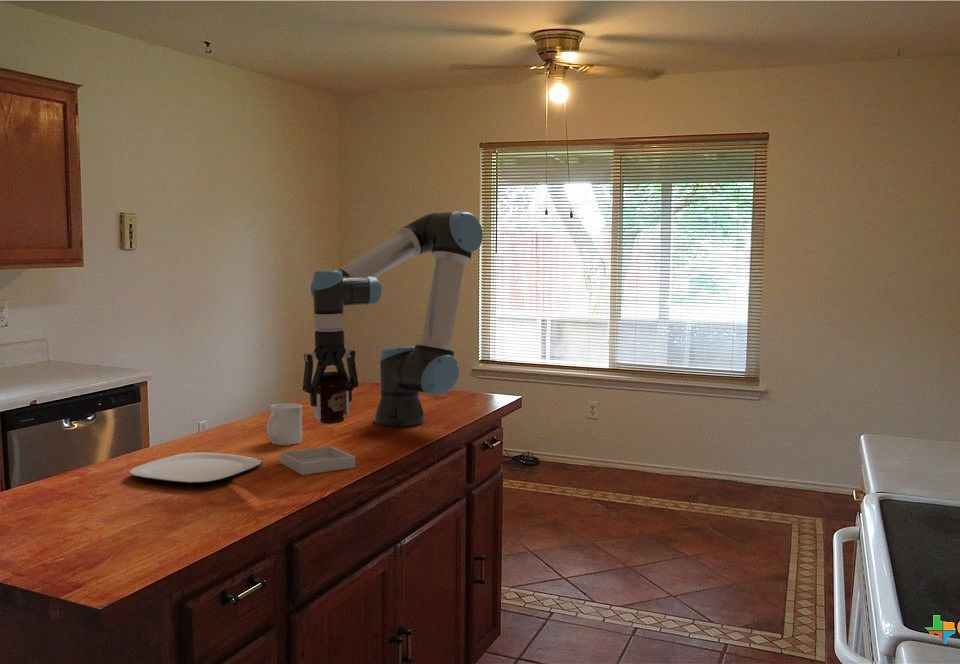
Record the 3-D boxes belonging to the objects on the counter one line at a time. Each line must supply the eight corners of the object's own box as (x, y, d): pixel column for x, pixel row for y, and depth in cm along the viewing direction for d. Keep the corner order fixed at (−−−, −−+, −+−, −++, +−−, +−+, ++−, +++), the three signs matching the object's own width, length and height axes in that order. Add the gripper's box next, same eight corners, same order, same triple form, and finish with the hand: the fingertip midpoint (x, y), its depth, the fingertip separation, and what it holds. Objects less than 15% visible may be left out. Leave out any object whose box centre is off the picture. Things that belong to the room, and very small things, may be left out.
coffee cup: (355, 419, 219) (353, 371, 217) (340, 426, 211) (337, 376, 210) (326, 417, 222) (324, 370, 220) (310, 424, 214) (307, 375, 212)
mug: (279, 450, 216) (279, 411, 216) (255, 446, 220) (254, 408, 219) (308, 441, 227) (308, 404, 226) (284, 438, 231) (284, 402, 230)
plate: (206, 491, 178) (206, 483, 178) (114, 479, 187) (114, 472, 186) (274, 465, 202) (273, 458, 201) (189, 456, 210) (189, 449, 210)
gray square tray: (331, 456, 210) (331, 446, 210) (355, 467, 199) (355, 456, 199) (280, 463, 202) (280, 452, 202) (302, 474, 191) (302, 463, 191)
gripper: (358, 326, 223) (360, 409, 225) (286, 331, 211) (289, 418, 214) (370, 328, 216) (372, 413, 219) (297, 333, 205) (300, 423, 207)
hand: (331, 416), depth 216 cm, fingers closed on coffee cup, 7 cm apart
